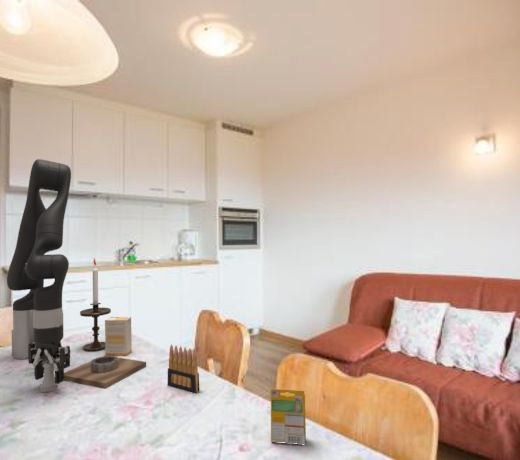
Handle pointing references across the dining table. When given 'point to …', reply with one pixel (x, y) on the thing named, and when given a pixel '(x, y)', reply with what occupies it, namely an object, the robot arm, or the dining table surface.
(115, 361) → the metal collar
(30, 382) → the dining table surface
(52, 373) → the rook chess piece
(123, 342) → the supplement box
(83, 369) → the walnut plate
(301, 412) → the crayon box
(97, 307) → the candlestick
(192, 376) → the ammunition clip
